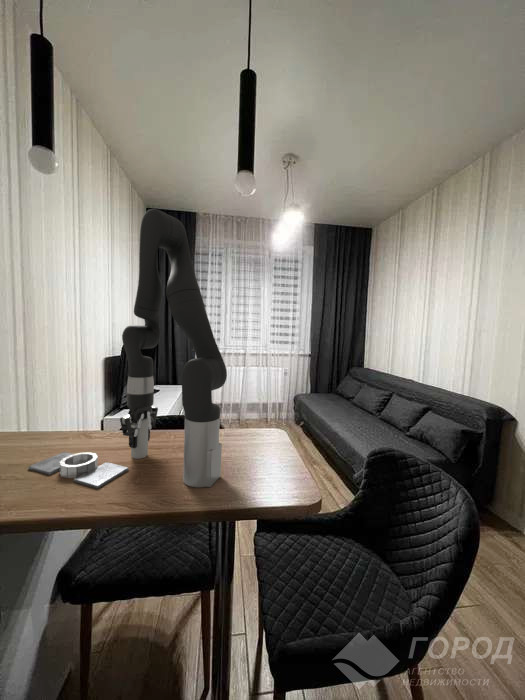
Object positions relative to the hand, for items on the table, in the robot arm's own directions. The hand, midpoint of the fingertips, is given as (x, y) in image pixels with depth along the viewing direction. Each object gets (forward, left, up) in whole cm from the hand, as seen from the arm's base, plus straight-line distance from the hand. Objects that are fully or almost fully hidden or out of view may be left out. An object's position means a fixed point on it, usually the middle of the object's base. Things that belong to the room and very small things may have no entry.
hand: (139, 443), depth 87 cm
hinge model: (+9, +13, -4) cm, 16 cm away
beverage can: (0, 0, -4) cm, 4 cm away
